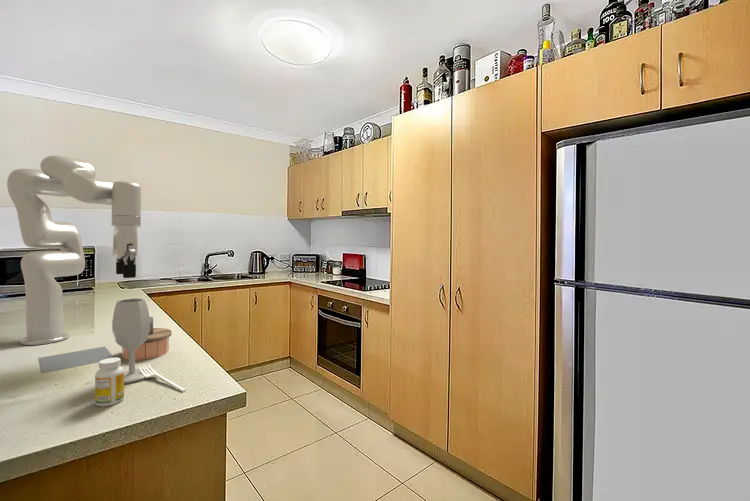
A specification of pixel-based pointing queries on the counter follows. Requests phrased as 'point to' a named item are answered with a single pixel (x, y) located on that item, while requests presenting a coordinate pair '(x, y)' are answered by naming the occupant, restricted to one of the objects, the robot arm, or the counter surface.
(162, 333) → the lid
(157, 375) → the fork
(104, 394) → the supplement bottle
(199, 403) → the counter surface
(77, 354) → the mat
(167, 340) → the bowl
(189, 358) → the counter surface
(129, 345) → the wineglass
